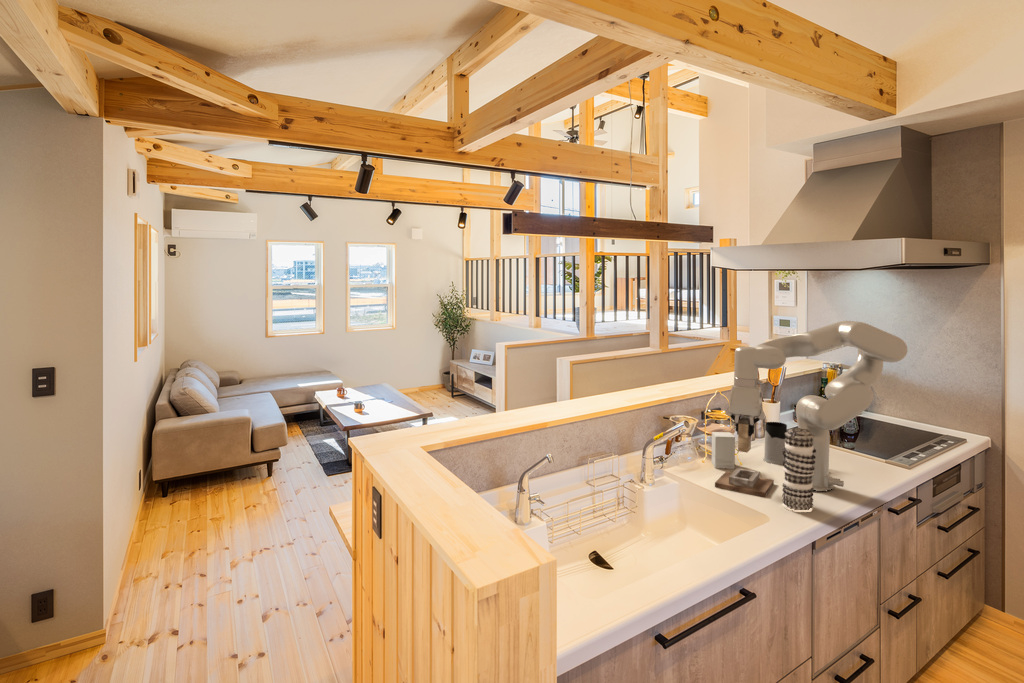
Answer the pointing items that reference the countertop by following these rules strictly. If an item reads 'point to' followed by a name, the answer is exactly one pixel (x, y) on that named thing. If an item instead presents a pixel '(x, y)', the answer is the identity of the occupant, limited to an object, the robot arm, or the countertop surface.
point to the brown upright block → (744, 435)
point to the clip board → (745, 482)
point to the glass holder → (774, 442)
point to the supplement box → (723, 450)
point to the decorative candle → (798, 469)
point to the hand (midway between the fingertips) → (744, 434)
